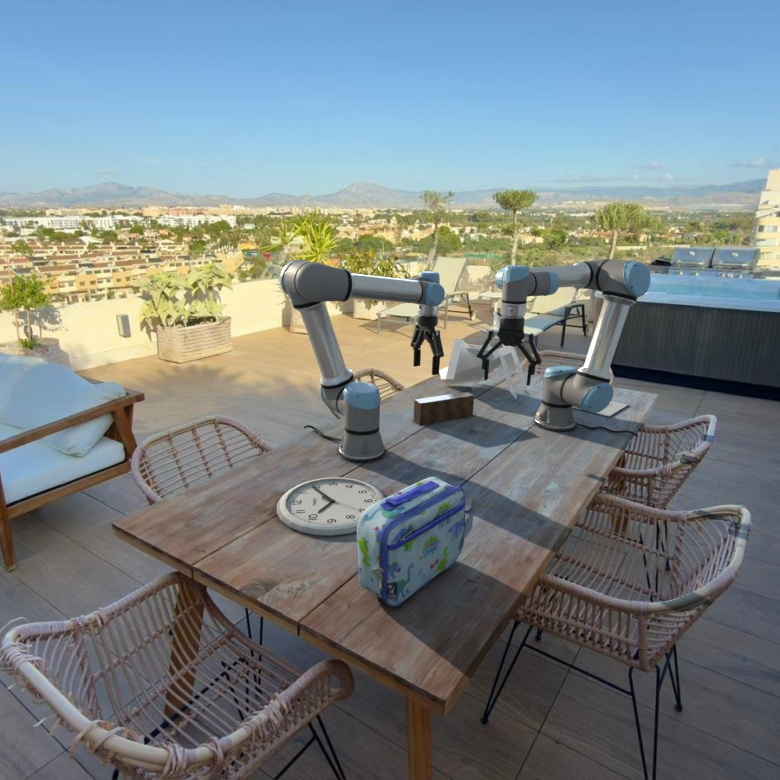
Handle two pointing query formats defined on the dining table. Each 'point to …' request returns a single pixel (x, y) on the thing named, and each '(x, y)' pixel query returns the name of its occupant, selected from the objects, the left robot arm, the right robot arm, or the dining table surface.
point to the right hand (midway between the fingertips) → (506, 382)
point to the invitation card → (611, 408)
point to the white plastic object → (480, 364)
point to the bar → (443, 408)
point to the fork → (467, 507)
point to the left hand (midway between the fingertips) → (425, 370)
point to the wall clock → (327, 505)
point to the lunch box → (410, 539)
